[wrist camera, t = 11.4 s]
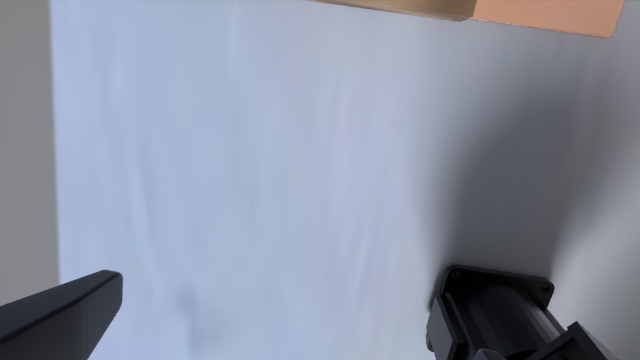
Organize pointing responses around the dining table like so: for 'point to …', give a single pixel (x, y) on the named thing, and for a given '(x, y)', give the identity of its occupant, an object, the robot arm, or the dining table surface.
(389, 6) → the shelf lane
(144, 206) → the dining table surface
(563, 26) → the pad
